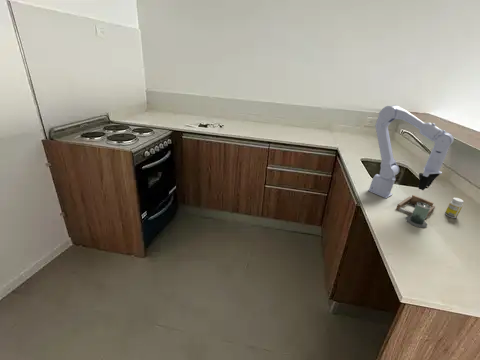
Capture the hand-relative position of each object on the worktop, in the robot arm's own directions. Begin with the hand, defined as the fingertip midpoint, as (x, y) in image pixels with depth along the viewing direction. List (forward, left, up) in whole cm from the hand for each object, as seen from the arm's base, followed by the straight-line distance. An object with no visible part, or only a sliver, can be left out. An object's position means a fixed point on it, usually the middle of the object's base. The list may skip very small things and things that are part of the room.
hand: (423, 187), depth 127 cm
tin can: (+5, -16, -10) cm, 20 cm away
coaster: (+6, -16, -10) cm, 20 cm away
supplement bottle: (+13, +7, -11) cm, 18 cm away
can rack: (+1, -4, -10) cm, 11 cm away
